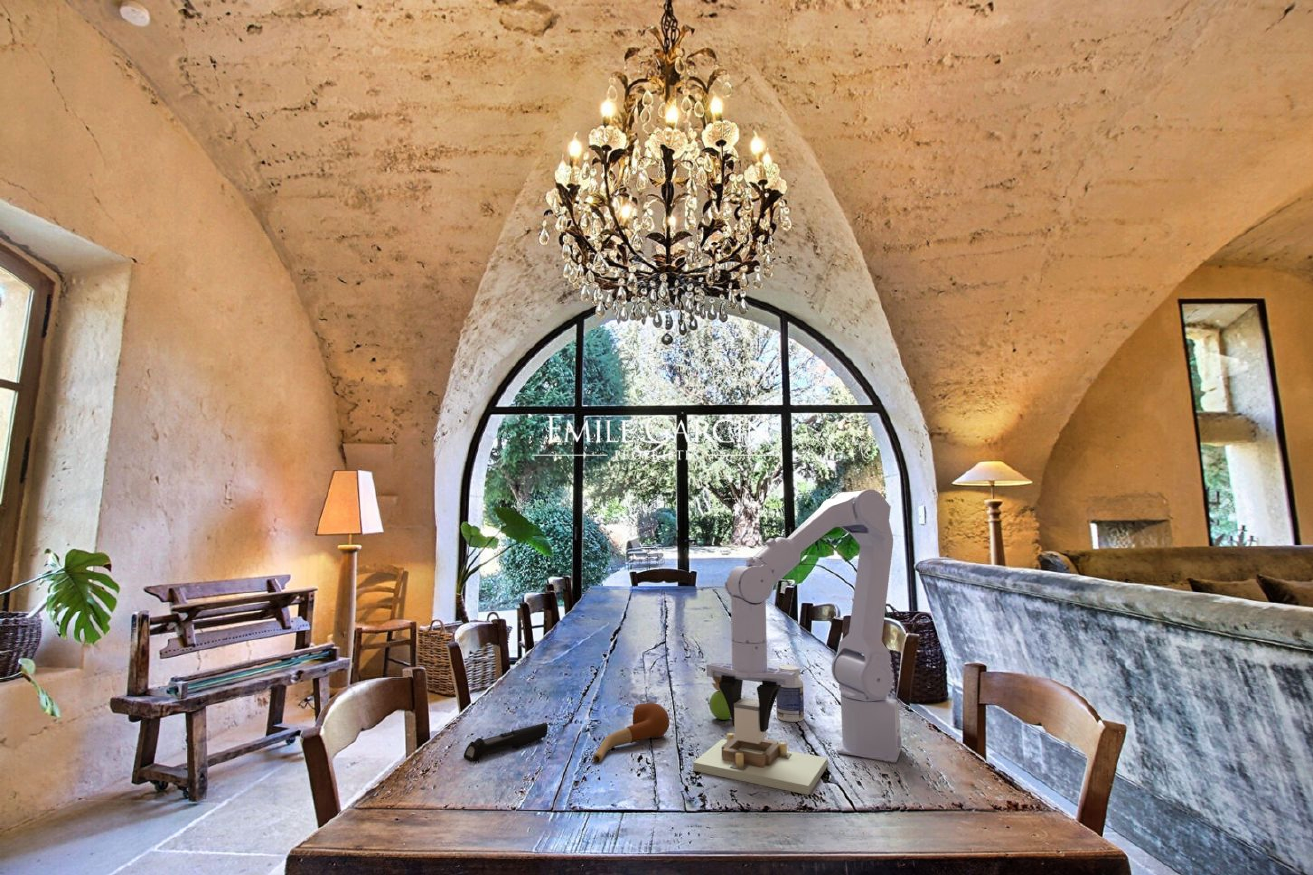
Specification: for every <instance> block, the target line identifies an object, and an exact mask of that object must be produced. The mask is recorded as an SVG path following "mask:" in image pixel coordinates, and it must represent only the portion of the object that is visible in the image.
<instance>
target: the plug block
mask: <svg viewBox="0 0 1313 875" xmlns="http://www.w3.org/2000/svg"><path fill="white" fill-rule="evenodd" d="M733 729H734V737H735V740H739V741H745V742H750V743H756V744H759V743H760V742H761V741H762V740H763V739H766V738H767V730H766V731H765V732H761V731H760V708H759V699H758V698H757V699H756V698H749V697H742V696H741V699H740V700H738V701H737V702H735V703H734V727H733Z"/></svg>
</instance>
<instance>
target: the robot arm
mask: <svg viewBox="0 0 1313 875" xmlns="http://www.w3.org/2000/svg"><path fill="white" fill-rule="evenodd" d="M891 508H892V507H891V505H890V504H889V502H888V501H887V500H886V499H885V497H884V496H883V495H882V494H881V493H880V492H879V491H877V490H875V489H871V488H868V489H864V490H858V491H839V492H835V493H833V495H832V496H831V497H830V498H828V499H826V500H824V501H823V502H822V504H821V505H820V506H819V508H817V509H816V510H815V511H814V512H813V513H812V514H811V515H810V516H808V518H807V519H806V520H804V521H803V523H801V524H800V525H799V526H798V527H797V528H796V529H794V531H793V532H792V533H791V534H790V535H789V536H788V537H783V536H782V537H781V536H777V537H776V538H772V537H770V538H768V540H766V541H765V545H766V546H765V547H763V548H762V549H760V550H759V552H757V553H756V554H755V555H754V556H753V557H752V556H748V557H747V558H746V559H745V562H746V563H745V565H738V566H735V567H734V568H733V569H732V570H730V571H729V573H728V577H727V579H726V581H725V582H724V588H725V590H726V593H727V594H728V595H729V597H730V599H731V600H730V601H731V602H730V604H731V605H730V606H731V607H730V608H731V615H730V616H731V618H730V620H731V625H730V626H731V662H730V663H724V662H712V661H711V662H709V663H707V664H706V677H710V678H711V677H712V678H713V676H717V677H721V681H720V682H719V688H720V690H721V691H722V693H723V695H724V697H725V700H726V702H727V705H728V708H729V711H730V715H731V718H730V720H731V724H732V727H733V728H734V703H735V702H737V701H738V700H740V699H741V698H742V692H743V691H742V690H743V683H744V681H748V682H757V683H761V684H759V685H758V686H757V687H756V692H757V700H759V708H760V731H761V732H765V731H766V732H767V731H768V730H769V724H770V718H771V714H772V710H773V706H774V704H775V702H776V696H777V694H778V692H779V689H780V687H781V685H785V686H786V687H793V686H794V685H795V672H789V671H783V670H779V668H775V667H774V668H773V667H768V654H767V652H768V649H767V648H768V646H767V643H768V642H767V604H766V603H767V600H768V599H770V598H771V595H772V593H773V588H774V586H775V585H776V584H777V583H778V582H779V581H780V580H782V579H783V578H784V577H785V576H786V575H787V574H789V573H790V572H791V571H793V570H794V569H795V568H796V567H797V566H798V565H799V564H800V561H801V553H802V552H804V551H805V550H806V549H807V548H809V547H810V546H812V545H813V544H814V543H815V542H817V541H818V540H820V539H821V538H822V537H823V536H825V535H826V534H828V533H829V532H830V531H831V530H833V529H834V528H839V527H840V528H841V529H842V530H844V531H845V532H847V533H848V534H850V535H851V537H852V538H853V539H854V540H855V541H856V544H858V545H859V552H858V553H859V554H858V558H857V559H858V561H857V569H856V576H855V583H854V591H853V599H852V606H851V613H850V621H849V622H850V623H849V630H848V633H847V635H846V636H845V637H844V638H842V639H841V640H840V642H839V643H838V645H839V646H838V649H837V652H836V654H835V656H834V658H833V660H832V663H831V674H832V677H833V680H834V681H835V682H836V683H837V684H838V690H839V692H840V709H841V711H840V713H841V735H842V736H841V737H842V739H841V740H842V741H841V742H840V743H839V745H838V746H837V748H836V750H835V751H836V753H838V754H843V755H850V756H855V757H861V758H867V759H872V760H878V761H882V760H884V762H888V761H891V763H897V761H898V759H899V756H900V754H901V751H902V749H901V748H903V747H902V735H901V718H900V717H901V716H900V706H899V701H898V700H897V699H894V698H888V695H889V693H890V692H891V691H892V688H893V685H894V675H893V670H892V668H891V667H892V666H891V663H892V662H891V660H892V655H891V653H890V652H889V650H888V648H887V647H886V646H885V644H884V642H883V632H884V622H885V615H886V614H885V613H886V607H887V606H886V605H887V600H888V599H887V597H888V591H889V581H890V575H891V574H890V572H891V565H892V556H893V548H894V536H893V531H892V527H891V524H890V517H891ZM899 753H900V754H899Z"/></svg>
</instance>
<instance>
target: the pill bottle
mask: <svg viewBox="0 0 1313 875" xmlns="http://www.w3.org/2000/svg"><path fill="white" fill-rule="evenodd" d="M778 669H779V670H783V671H789V672H795V685H794V686H793V687H786V686H785V685H781V687H780V689H779V692H778V694H777V696H776V699H775V702H776V703H775V705H776V708H775V709H776V713H775V714H776V717H777V719H779V720H780V721H783V722H790V723H797V722H798V721H799V722H801V721H803V720H805V719H804V718H805V709H804V708H805V702H804V682H803V680H802V678H800V677H799V676H800V667H799V666H795V665H789V664H785V665H779V666H778Z"/></svg>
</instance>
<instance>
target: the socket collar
mask: <svg viewBox="0 0 1313 875" xmlns="http://www.w3.org/2000/svg"><path fill="white" fill-rule="evenodd" d="M741 747H742V748H747V749H753V750H758V751H764V753H763V754H757V753H752V752H746V751H741V750H738V749H740V748H741ZM736 753H742V754H743V761H744V764H747V765H750V766H755V767H760V768H764V767H765V766H770V765H771V764H772V763H773V762H774V761H775V760H776V759H777V757H778V756H779V741H776V740H772V739H771V740H770V739H766V738H764V739H763V740H762V741H761V742H760V743H759V744H756V743H750V742H745V741H739V740H735V736H734V737H733V738H732V739H730V740H729V741H728V742H727V743H726V744H724V745H723V746H722V760H725V761H730V762H736Z"/></svg>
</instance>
